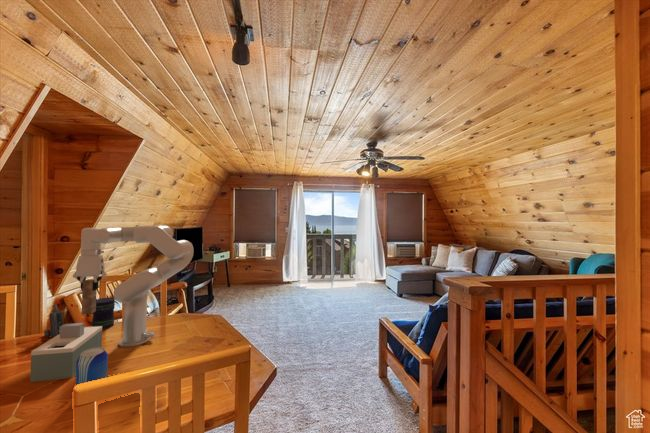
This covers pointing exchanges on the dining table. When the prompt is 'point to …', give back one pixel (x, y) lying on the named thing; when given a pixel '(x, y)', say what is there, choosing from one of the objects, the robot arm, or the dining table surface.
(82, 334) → the lid
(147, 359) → the dining table surface
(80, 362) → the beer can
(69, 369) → the toolbox
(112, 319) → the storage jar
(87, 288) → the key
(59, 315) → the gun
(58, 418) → the dining table surface
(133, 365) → the dining table surface
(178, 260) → the robot arm
